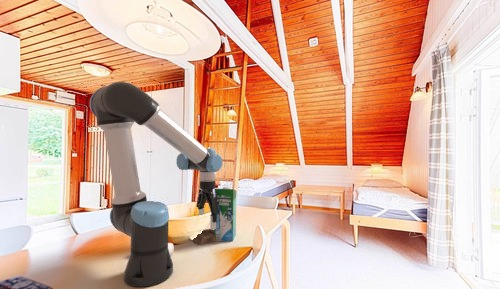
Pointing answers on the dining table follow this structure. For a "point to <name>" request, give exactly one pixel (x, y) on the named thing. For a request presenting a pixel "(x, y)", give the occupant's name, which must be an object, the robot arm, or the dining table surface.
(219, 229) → the milk carton
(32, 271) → the dining table surface
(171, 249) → the paper roll
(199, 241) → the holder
